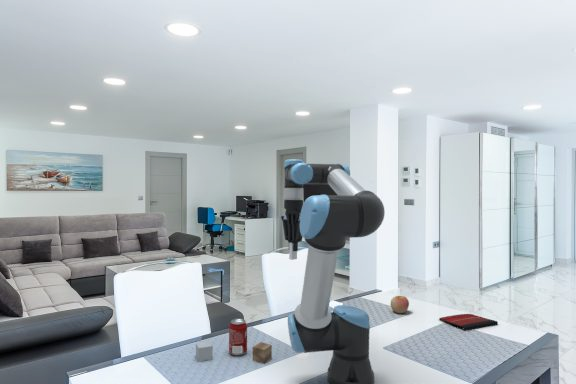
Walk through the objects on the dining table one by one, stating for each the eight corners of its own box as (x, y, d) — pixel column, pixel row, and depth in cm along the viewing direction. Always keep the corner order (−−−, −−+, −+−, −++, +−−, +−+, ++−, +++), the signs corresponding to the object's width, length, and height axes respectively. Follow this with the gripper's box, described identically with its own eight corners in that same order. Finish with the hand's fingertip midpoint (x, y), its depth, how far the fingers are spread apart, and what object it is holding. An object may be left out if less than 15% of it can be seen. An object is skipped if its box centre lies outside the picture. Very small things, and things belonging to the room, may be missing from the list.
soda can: (243, 357, 142) (244, 324, 142) (226, 355, 144) (226, 323, 143) (249, 349, 149) (249, 318, 149) (232, 348, 150) (232, 317, 150)
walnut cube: (271, 358, 142) (271, 344, 142) (264, 363, 138) (264, 349, 137) (260, 355, 144) (260, 341, 144) (252, 360, 140) (252, 346, 140)
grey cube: (212, 359, 140) (212, 345, 140) (198, 362, 138) (198, 348, 138) (209, 354, 145) (209, 340, 145) (195, 356, 143) (195, 343, 143)
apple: (410, 311, 196) (410, 295, 196) (405, 316, 189) (405, 300, 189) (393, 308, 201) (393, 293, 201) (388, 313, 194) (388, 297, 193)
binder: (497, 321, 179) (464, 327, 170) (498, 326, 179) (464, 332, 170) (469, 311, 193) (437, 317, 185) (469, 316, 193) (437, 322, 185)
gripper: (312, 199, 149) (311, 260, 149) (290, 198, 159) (289, 255, 160) (297, 199, 144) (296, 262, 145) (276, 198, 154) (275, 257, 155)
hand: (293, 259), depth 152 cm, fingers closed
